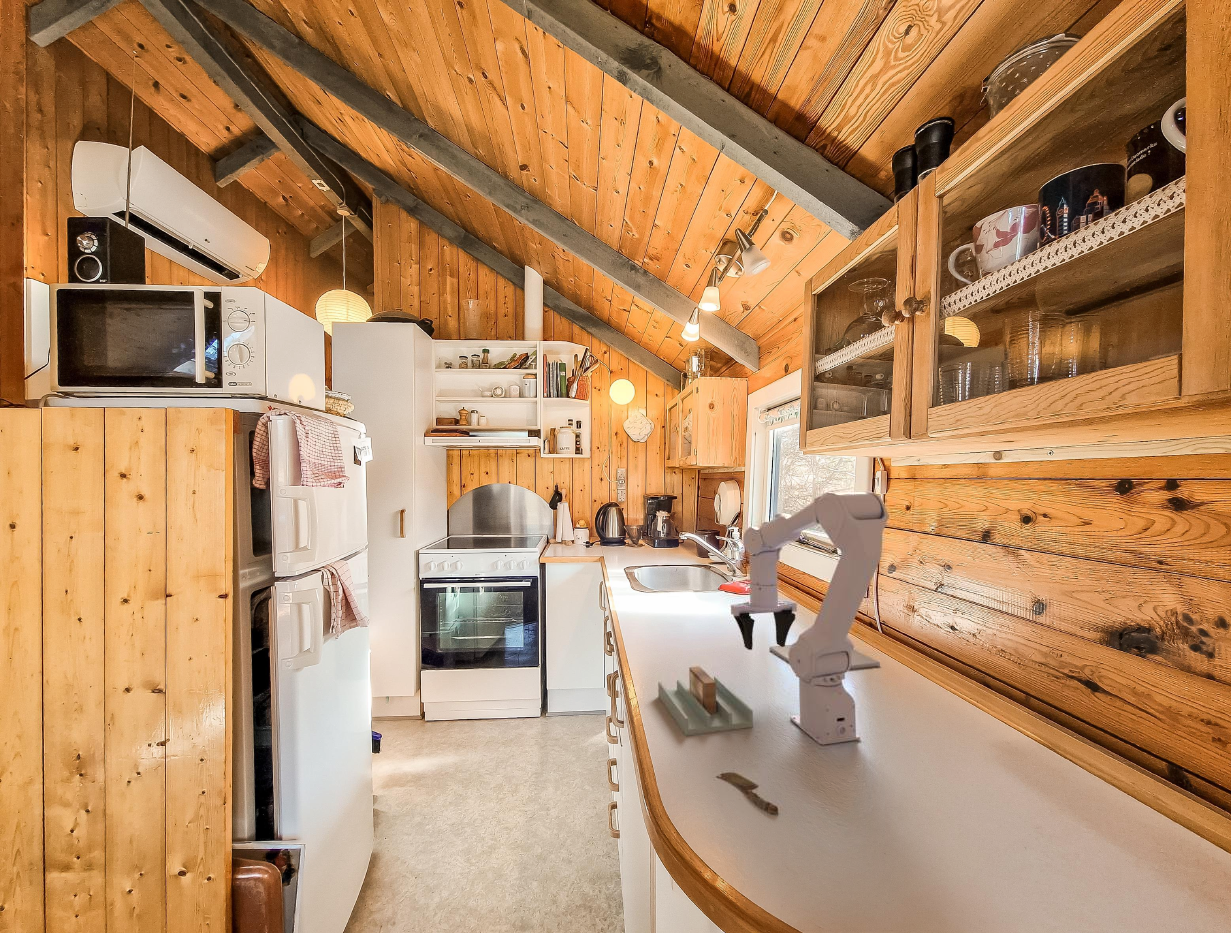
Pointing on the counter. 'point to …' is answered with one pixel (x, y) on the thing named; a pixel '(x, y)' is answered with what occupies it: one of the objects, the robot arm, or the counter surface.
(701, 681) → the tan wooden slab
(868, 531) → the robot arm
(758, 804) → the brown knife
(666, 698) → the notched rack
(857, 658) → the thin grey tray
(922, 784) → the counter surface
